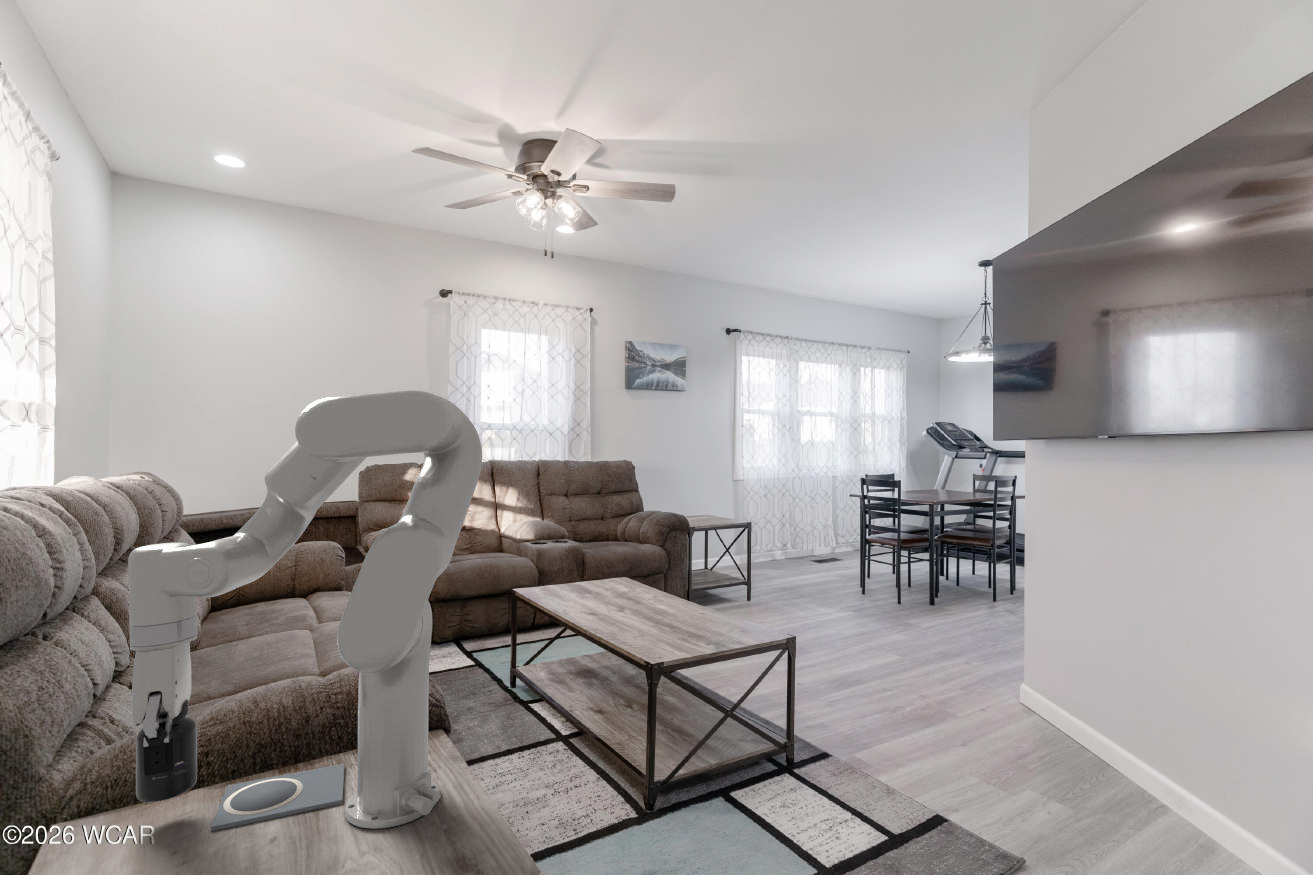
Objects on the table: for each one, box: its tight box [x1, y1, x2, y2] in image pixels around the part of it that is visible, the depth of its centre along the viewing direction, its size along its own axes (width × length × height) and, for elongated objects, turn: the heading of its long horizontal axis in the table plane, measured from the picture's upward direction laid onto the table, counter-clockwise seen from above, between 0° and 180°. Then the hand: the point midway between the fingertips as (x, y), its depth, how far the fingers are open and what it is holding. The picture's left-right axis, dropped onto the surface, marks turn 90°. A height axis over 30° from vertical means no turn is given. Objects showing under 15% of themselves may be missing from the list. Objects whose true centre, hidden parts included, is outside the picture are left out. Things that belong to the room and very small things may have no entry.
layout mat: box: [210, 763, 345, 832], centre depth 95 cm, size 16×12×1 cm
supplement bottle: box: [135, 699, 198, 803], centre depth 89 cm, size 7×7×12 cm
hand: (167, 759), depth 89 cm, fingers closed on supplement bottle, 6 cm apart
